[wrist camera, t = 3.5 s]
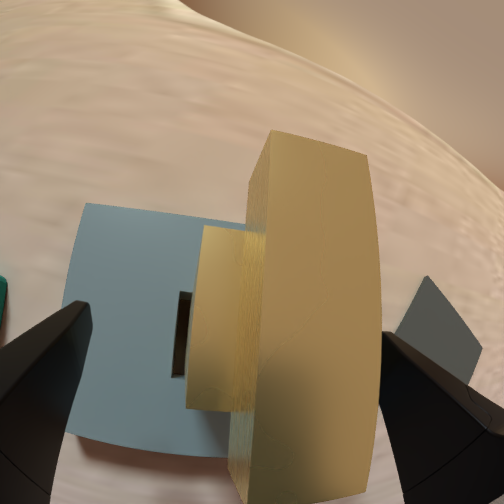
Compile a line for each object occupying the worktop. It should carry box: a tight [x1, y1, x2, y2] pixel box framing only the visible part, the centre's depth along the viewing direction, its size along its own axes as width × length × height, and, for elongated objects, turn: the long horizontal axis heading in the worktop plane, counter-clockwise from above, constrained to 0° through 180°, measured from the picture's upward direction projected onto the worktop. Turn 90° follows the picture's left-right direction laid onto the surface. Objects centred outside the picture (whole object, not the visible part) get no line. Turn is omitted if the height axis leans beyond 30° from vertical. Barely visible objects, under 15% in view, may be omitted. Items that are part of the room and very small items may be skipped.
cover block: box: [61, 203, 245, 458], centre depth 15 cm, size 12×16×2 cm
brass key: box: [185, 130, 382, 504], centre depth 10 cm, size 5×3×14 cm, turn 176°
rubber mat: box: [395, 276, 482, 385], centre depth 18 cm, size 10×10×1 cm
